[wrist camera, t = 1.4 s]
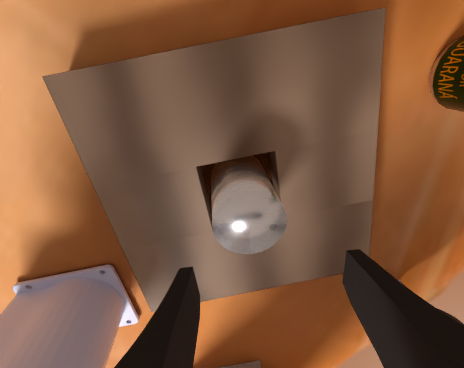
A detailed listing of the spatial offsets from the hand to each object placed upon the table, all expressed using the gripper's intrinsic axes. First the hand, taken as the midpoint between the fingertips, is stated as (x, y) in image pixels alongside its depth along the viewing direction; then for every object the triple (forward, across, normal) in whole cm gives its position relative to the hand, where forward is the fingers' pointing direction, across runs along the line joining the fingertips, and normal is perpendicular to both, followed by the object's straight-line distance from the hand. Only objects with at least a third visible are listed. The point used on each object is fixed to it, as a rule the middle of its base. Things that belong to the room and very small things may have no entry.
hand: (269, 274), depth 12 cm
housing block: (+11, +1, 0) cm, 11 cm away
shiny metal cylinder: (+11, +1, 0) cm, 11 cm away
